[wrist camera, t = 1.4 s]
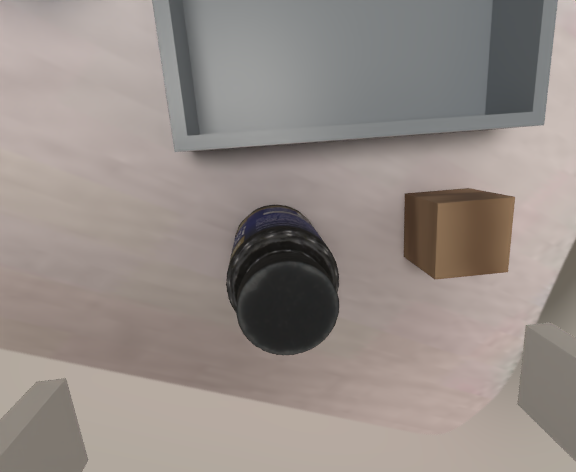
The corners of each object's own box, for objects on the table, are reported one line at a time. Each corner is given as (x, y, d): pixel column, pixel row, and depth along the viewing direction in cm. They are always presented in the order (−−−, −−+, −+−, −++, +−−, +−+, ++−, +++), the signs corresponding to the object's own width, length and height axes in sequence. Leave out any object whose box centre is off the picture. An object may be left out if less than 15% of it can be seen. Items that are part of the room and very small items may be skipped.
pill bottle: (229, 208, 25) (208, 252, 14) (312, 199, 25) (351, 235, 15) (241, 286, 27) (230, 378, 16) (318, 276, 27) (359, 360, 16)
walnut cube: (403, 256, 27) (434, 279, 22) (404, 193, 26) (437, 203, 21) (463, 250, 28) (507, 271, 23) (467, 188, 26) (514, 196, 22)
